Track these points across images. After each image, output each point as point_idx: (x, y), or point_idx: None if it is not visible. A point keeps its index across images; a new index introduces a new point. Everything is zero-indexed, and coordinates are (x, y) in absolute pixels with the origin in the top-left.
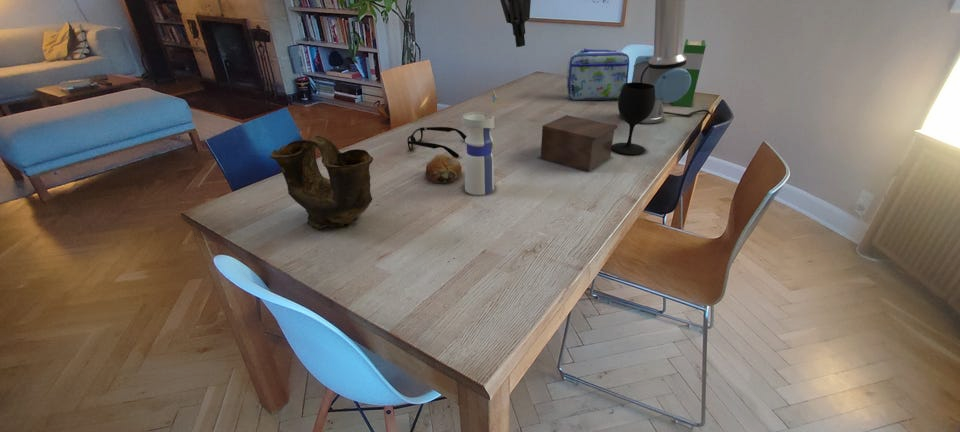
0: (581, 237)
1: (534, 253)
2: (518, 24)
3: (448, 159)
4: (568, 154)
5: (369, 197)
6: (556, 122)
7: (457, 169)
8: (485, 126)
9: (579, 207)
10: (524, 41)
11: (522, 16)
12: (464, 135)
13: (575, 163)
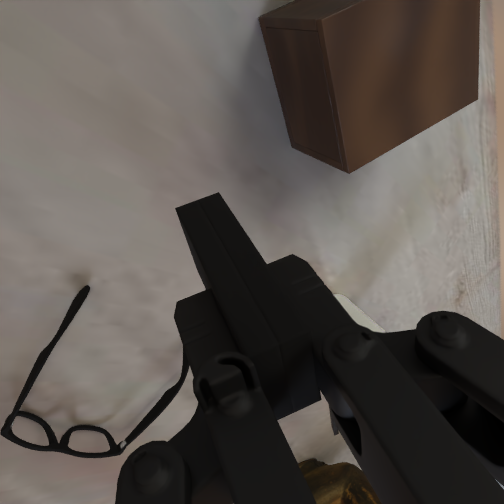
0: (482, 234)
1: (463, 293)
2: (317, 385)
3: None
4: None
5: (359, 470)
6: (354, 116)
7: None
8: None
9: (452, 196)
10: (231, 214)
11: (455, 427)
12: (79, 307)
13: None
